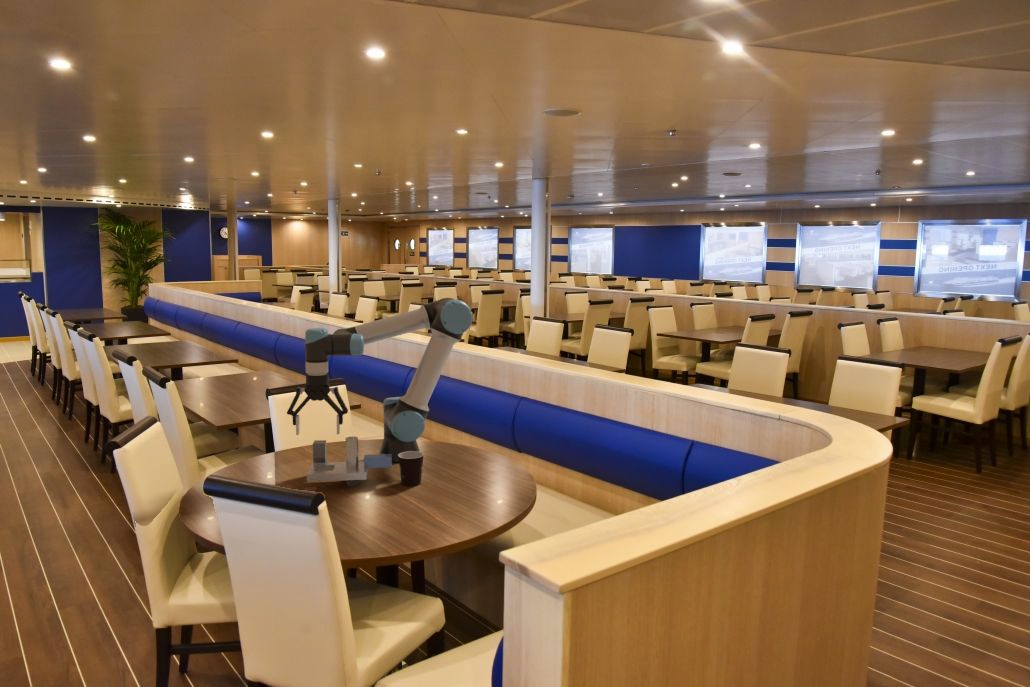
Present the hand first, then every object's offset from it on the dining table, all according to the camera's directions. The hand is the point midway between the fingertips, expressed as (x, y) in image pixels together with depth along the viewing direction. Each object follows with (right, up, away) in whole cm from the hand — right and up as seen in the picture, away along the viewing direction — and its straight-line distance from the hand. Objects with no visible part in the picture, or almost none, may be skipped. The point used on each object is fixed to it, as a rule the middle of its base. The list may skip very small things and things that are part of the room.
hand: (318, 433), depth 243 cm
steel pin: (0, -15, +2) cm, 15 cm away
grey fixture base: (+14, -16, -7) cm, 22 cm away
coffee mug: (+33, -16, -4) cm, 37 cm away
